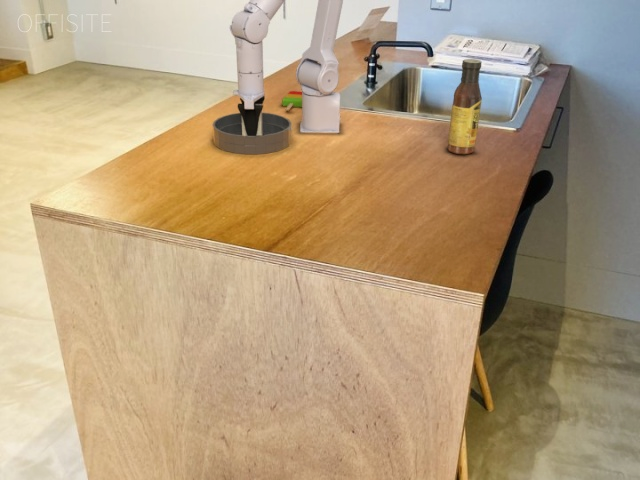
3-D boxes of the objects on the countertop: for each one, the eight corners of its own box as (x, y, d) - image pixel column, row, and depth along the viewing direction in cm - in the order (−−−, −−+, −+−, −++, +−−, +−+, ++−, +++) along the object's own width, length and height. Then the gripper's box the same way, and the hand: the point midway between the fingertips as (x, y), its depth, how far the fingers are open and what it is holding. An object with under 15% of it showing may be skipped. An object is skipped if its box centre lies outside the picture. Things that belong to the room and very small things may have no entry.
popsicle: (308, 98, 192) (308, 91, 191) (297, 114, 179) (297, 106, 178) (289, 97, 192) (289, 90, 191) (276, 112, 180) (276, 105, 179)
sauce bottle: (474, 156, 154) (487, 65, 143) (446, 154, 155) (457, 63, 144) (474, 147, 160) (487, 58, 149) (447, 145, 161) (458, 56, 150)
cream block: (262, 138, 161) (261, 103, 157) (261, 144, 158) (260, 109, 153) (244, 137, 161) (242, 103, 157) (242, 144, 158) (241, 109, 153)
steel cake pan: (292, 130, 167) (292, 112, 165) (290, 156, 152) (290, 136, 150) (218, 130, 167) (217, 111, 164) (209, 155, 152) (208, 135, 149)
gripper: (234, 62, 157) (237, 121, 164) (229, 79, 145) (232, 141, 152) (265, 63, 157) (267, 122, 164) (262, 79, 145) (264, 142, 152)
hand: (252, 131), depth 158 cm, fingers closed on cream block, 4 cm apart
